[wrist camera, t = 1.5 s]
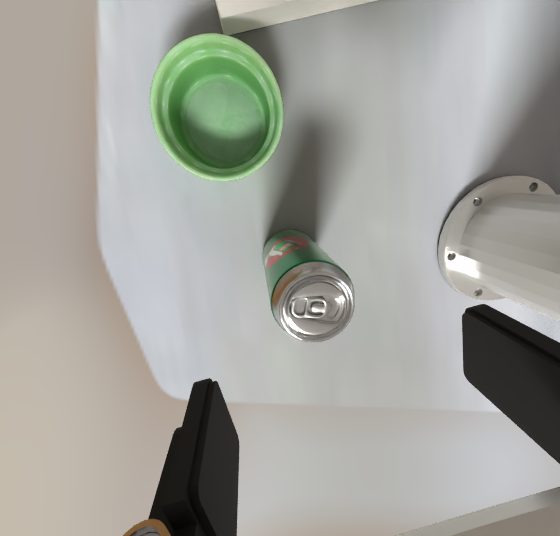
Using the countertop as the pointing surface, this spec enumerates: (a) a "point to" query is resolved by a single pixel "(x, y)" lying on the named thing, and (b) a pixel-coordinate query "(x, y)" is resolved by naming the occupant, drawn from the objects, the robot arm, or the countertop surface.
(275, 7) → the scale
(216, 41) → the ramekin
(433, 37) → the countertop surface
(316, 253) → the soda can
